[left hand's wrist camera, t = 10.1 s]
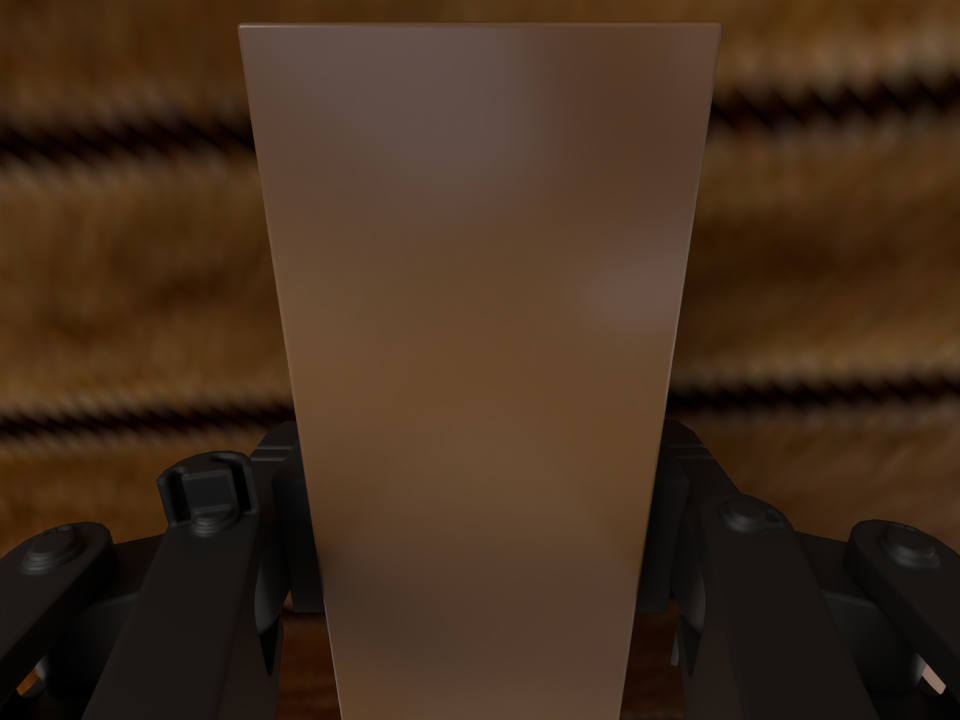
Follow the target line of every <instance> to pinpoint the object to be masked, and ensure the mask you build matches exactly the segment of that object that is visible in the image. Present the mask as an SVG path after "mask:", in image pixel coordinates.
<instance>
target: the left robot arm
mask: <svg viewBox="0 0 960 720" xmlns="http://www.w3.org/2000/svg"><path fill="white" fill-rule="evenodd" d="M712 457H713V456H712V455H711V454H710V452H709V451H708V450H707V448H704V445H703V443H702V442H701V441H700V439H699V438H698V437H697V435H696V434H695V433H694V431H692V430H690V429H689V428H687V427H686V426H684V425H683V424H681V423H680V422H678V421H676V420H664V422H663V429H662V435H661V442H660V449H659V455H658V462H657V469H656V476H655V482H654V489H653V496H652V502H651V509H650V516H649V522H648V529H647V536H646V542H645V549H644V556H643V562H642V569H641V576H640V582H639V589H638V596H637V602H636V609H635V612H666V611H667V605H668V600H669V594H670V589H671V588H672V591H673V593H674V595H675V597H676V600H677V602H678V604H679V607H680V612H679V618H678V623H677V628H676V633H675V638H674V643H673V649H672V654H671V661H670V665H674V666H677V663H678V658H679V662H680V671H681V680H682V689H683V698H684V707H685V716H686V720H960V555H958V554H957V553H956V552H955V551H954V550H952V549H951V548H949V547H948V546H946V545H945V544H944V543H942V542H941V541H939V540H938V539H936V538H935V537H932V536H930V535H928V534H926V533H924V532H922V531H920V530H918V529H917V528H914V527H911V526H908V525H903V524H901V523H897V522H892V521H884V520H875V519H874V520H867V521H860V522H859V523H858V524H856V525H855V526H854V527H853V528H852V531H851V534H850V537H849V540H848V542H843V541H838V540H833V539H828V538H823V537H819V536H814V535H809V534H805V533H801V532H797V531H794V529H793V527H792V525H791V524H790V522H789V521H788V520H787V518H786V517H785V516H784V514H783V513H781V512H780V511H779V510H777V509H776V508H774V507H773V506H772V505H770V504H768V503H766V502H764V501H762V500H759V499H757V498H755V497H752V496H748V495H743V494H741V493H740V492H739V490H738V489H737V488H736V486H735V485H734V484H733V482H732V481H731V480H730V479H729V477H728V476H727V475H726V473H725V472H724V471H723V469H722V468H721V467H720V465H719V464H718V463H717V462H716V460H715V459H713V458H712ZM156 482H157V485H158V489H159V492H160V496H161V500H162V503H163V507H164V510H165V514H166V517H167V521H168V525H169V526H168V528H167V530H166V533H164V534H161V535H157V536H153V537H148V538H143V539H138V540H134V541H129V542H124V543H119V544H114V543H113V540H112V537H111V534H110V531H109V529H107V528H106V527H105V526H104V525H102V524H100V523H93V522H80V523H71V524H66V525H61V526H58V527H54V528H51V529H48V530H46V531H44V532H42V533H40V534H38V535H36V536H34V537H32V538H30V539H28V540H26V541H24V542H23V543H22V544H20V545H19V546H17V547H16V548H14V549H13V550H11V551H10V552H9V553H7V554H6V555H5V556H4V557H3V558H2V559H0V720H274V717H275V708H276V699H277V690H278V681H279V672H280V663H281V654H282V645H283V636H284V630H283V623H282V618H281V613H280V611H281V608H282V606H283V604H284V601H285V599H286V597H287V595H288V592H289V590H290V591H291V596H292V602H293V608H294V612H325V606H324V599H323V592H322V586H321V579H320V573H319V566H318V559H317V553H316V546H315V540H314V533H313V526H312V520H311V513H310V506H309V500H308V493H307V487H306V480H305V473H304V467H303V460H302V453H301V447H300V440H299V434H298V427H297V421H285V422H284V423H282V424H281V425H279V426H278V427H276V428H275V429H273V430H272V431H270V432H268V433H267V434H266V436H265V437H264V438H263V440H262V441H261V442H260V444H259V445H258V446H257V450H254V452H253V453H252V454H251V455H250V457H247V456H246V455H245V454H243V453H239V452H235V451H212V452H207V453H203V454H198V455H195V456H192V457H189V458H187V459H184V460H182V461H179V462H178V463H176V464H174V465H173V466H171V467H170V468H168V469H166V470H165V471H164V472H163V473H162V474H161V475H160V476H159V478H158V479H157V480H156ZM926 665H928V666H929V667H930V668H931V669H932V671H933V672H934V673H935V674H936V675H937V676H938V678H939V679H940V680H941V681H942V682H943V683H944V684H945V686H946V687H945V689H944V691H943V693H942V694H940V693H938V692H937V691H936V690H935V689H934V688H933V687H932V686H931V685H930V684H929V683H928V681H927V680H926V679H925V678H924V677H923V675H922V674H923V672H924V669H925V667H926ZM34 667H36V670H37V672H38V674H39V676H40V677H39V678H38V679H37V681H36V682H35V683H34V684H33V685H32V687H31V688H30V689H28V690H27V691H26V692H25V693H24V694H23V695H22V696H21V695H20V694H19V693H18V691H17V689H16V688H17V687H18V686H19V685H20V684H21V682H22V681H23V680H24V679H25V678H26V677H27V675H28V674H29V673H30V672H31V671H32V669H33V668H34Z"/></svg>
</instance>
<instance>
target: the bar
mask: <svg viewBox="0 0 960 720" xmlns="http://www.w3.org/2000/svg"><path fill="white" fill-rule="evenodd" d="M721 35H722V24H721V23H719V22H717V21H694V22H242V23H240V24H238V36H239V43H240V50H241V56H242V63H243V69H244V76H245V83H246V89H247V96H248V102H249V109H250V116H251V122H252V129H253V136H254V142H255V149H256V155H257V162H258V169H259V175H260V182H261V189H262V195H263V202H264V208H265V215H266V222H267V228H268V235H269V242H270V248H271V255H272V261H273V268H274V275H275V281H276V288H277V295H278V301H279V308H280V314H281V321H282V328H283V334H284V341H285V347H286V354H287V361H288V367H289V374H290V381H291V387H292V394H293V400H294V407H295V414H296V420H297V427H298V434H299V440H300V447H301V453H302V460H303V467H304V473H305V480H306V487H307V493H308V500H309V506H310V513H311V520H312V526H313V533H314V540H315V546H316V553H317V559H318V566H319V573H320V579H321V586H322V592H323V599H324V606H325V612H326V619H327V626H328V632H329V639H330V645H331V652H332V659H333V665H334V672H335V679H336V685H337V692H338V698H339V705H340V712H341V718H342V720H619V716H620V709H621V703H622V696H623V689H624V683H625V676H626V669H627V663H628V656H629V649H630V642H631V636H632V629H633V622H634V616H635V609H636V602H637V596H638V589H639V582H640V576H641V569H642V562H643V556H644V549H645V542H646V536H647V529H648V522H649V516H650V509H651V502H652V496H653V489H654V482H655V476H656V469H657V462H658V455H659V449H660V442H661V435H662V429H663V422H664V415H665V409H666V402H667V395H668V389H669V382H670V375H671V369H672V362H673V355H674V349H675V342H676V335H677V329H678V322H679V315H680V309H681V302H682V295H683V288H684V282H685V275H686V268H687V262H688V255H689V248H690V242H691V235H692V228H693V222H694V215H695V208H696V202H697V195H698V188H699V182H700V175H701V168H702V162H703V155H704V148H705V142H706V135H707V128H708V121H709V115H710V108H711V101H712V95H713V88H714V81H715V75H716V68H717V61H718V55H719V48H720V41H721Z"/></svg>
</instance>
